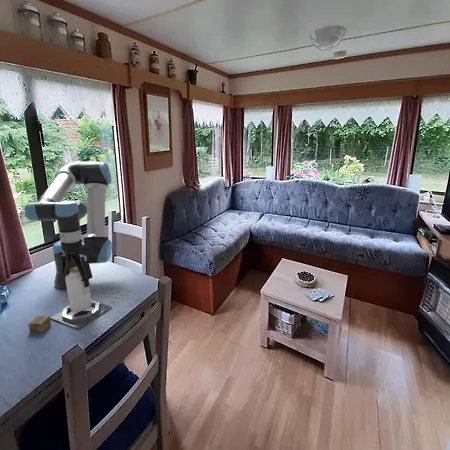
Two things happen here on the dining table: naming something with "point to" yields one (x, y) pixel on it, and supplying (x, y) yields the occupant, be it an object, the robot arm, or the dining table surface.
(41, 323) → the walnut block
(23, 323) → the dining table surface
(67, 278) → the white plastic bottle
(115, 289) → the dining table surface
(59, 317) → the ring seat
